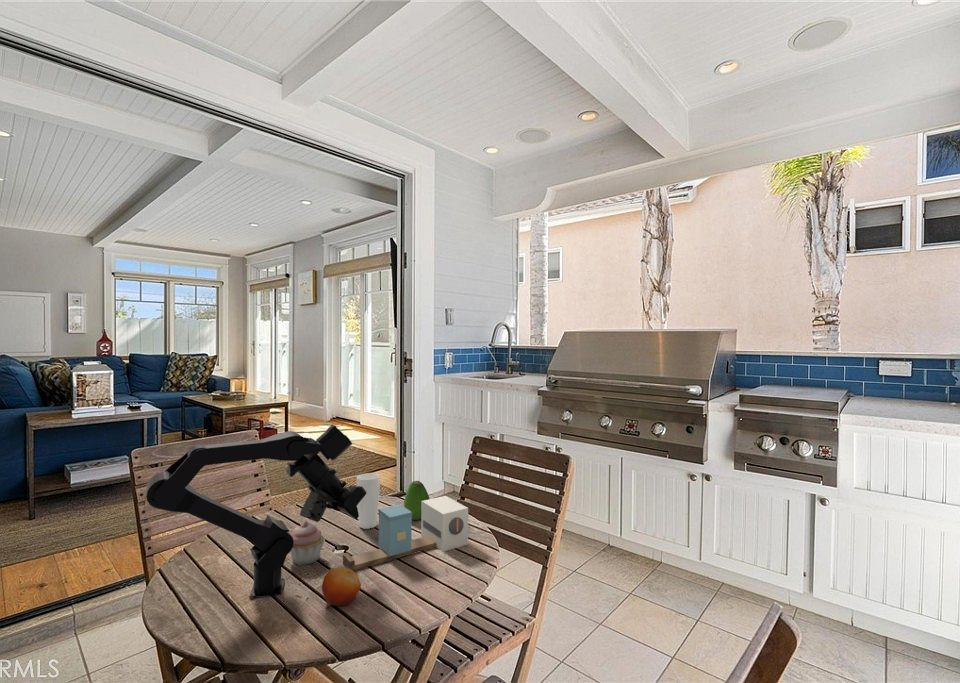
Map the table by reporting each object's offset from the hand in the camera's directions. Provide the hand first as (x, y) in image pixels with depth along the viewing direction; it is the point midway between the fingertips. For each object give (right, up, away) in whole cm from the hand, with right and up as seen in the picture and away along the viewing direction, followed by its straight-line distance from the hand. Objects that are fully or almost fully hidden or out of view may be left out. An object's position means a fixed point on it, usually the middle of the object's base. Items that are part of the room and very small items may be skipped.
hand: (357, 517), depth 119 cm
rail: (+8, -12, +6) cm, 15 cm away
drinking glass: (-3, -12, +24) cm, 27 cm away
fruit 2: (+11, -12, +30) cm, 34 cm away
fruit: (+1, -12, -16) cm, 20 cm away
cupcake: (-14, -12, +3) cm, 18 cm away
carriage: (+8, -10, +6) cm, 15 cm away
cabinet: (+21, -12, +15) cm, 28 cm away
